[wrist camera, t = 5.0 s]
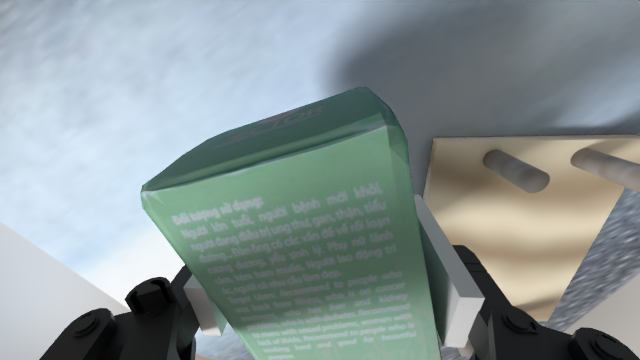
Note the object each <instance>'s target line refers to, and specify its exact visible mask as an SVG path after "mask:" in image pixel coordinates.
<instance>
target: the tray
mask: <svg viewBox="0 0 640 360" xmlns="http://www.w3.org/2000/svg"><path fill="white" fill-rule="evenodd" d="M639 163H640V136H639V135H634V134H621V135H565V136H509V137H452V138H433V144H432V150H431V155H430V161H429V167H428V172H427V178H426V184H425V190H424V195H423V200H424V202H425V203H426V205H427V207H428V208H429V210H430V211H431V213H432V215H433V216H434V218H435V219H436V221H437V223H438V224H439V226H440V227H441V229H442V231H443V232H444V234H445V235H446V237H447V238H448V240H449V242H450V243H451V245H464V246H466V247H467V248H468V249H470V250H471V251H472V252H473V253H475V255H476V256H477V257H478V259H479V260H480V262H481V264H482V265H483V266H484V267H485V269H486V270H487V273H489V274H490V276H491V277H492V278H493V280H494V281H495V282H496V284H497V285H498V287H499V288H500V289H501V291H502V292H503V294H504V295H505V296H506V298H507V299H508V300H509V302H510V303H511V304H512V306H515V307H517V308H519V309H521V310H523V311H525V312H526V313H527V314H529V315H530V316H531V317H533V318H534V320H535V321H548V319H549V317H550V316H551V314H552V312H553V310H554V309H555V307H556V305H557V304H558V302H559V300H560V298H561V297H562V295H563V293H564V292H565V290H566V288H567V286H568V285H569V283H570V281H571V280H572V278H573V276H574V274H575V273H576V271H577V269H578V267H579V266H580V264H581V262H582V261H583V259H584V257H585V255H586V254H587V252H588V250H589V249H590V247H591V245H592V243H593V242H594V240H595V238H596V237H597V235H598V233H599V231H600V230H601V228H602V226H603V224H604V223H605V221H606V219H607V218H608V216H609V214H610V212H611V211H612V209H613V207H614V206H615V204H616V202H617V200H618V199H619V197H620V195H621V194H622V192H623V190H624V188H625V187H627V188H629V189H632V190H634V191H637V192H640V164H639ZM458 350H459V352H460V354H461V355H462V356H464V357H471V356H472V353H473V351H474V349H473V347H472V345H471V343H470V340H469V338H468V340H467V343H466V345H465V347H464V348H461V347H458Z"/></svg>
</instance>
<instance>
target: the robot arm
mask: <svg viewBox="0 0 640 360" xmlns="http://www.w3.org/2000/svg"><path fill="white" fill-rule="evenodd" d="M414 199H415V205H416V211H417V218H418V224H419V230H420V235H421V241H422V247H423V253H424V259H425V265H426V270H427V276H428V283H429V289H430V295H431V301H432V307H433V312H434V318H435V324H436V329H437V331H438V334H439V337H440V340H441V342H442V345H443V347H461V348H464V347H465V345H466V343H467V340H468V338H469V340H470V343H471V345H472V347H473V349H474V351H473V353H472V356H471V358H470V360H640V359H639V358H638V357H637V356H636V355H635V354H634V353H633V352H632V351H631V350H630V349H629V348H628V347H627V346H625V345H624V344H623V343H621V342H620V341H618V340H617V339H616V338H614V337H612V336H610V335H608V334H606V333H604V332H602V331H599V330H596V329H593V328H580V329H578V330H576V331H575V333H574V334H573V335H570V334H566V333H563V332H560V331H557V330H553V329H550V328H547V327H544V326H541V325H539V324H538V323H537V322H536V321H535V320H534V318H533V317H531V316H530V315H529V314H527V313H526V312H525V311H523V310H521V309H519V308H517V307H515V306H512V304H511V303H510V302H509V300H508V299H507V298H506V296H505V295H504V294H503V292H502V291H501V289H500V288H499V287H498V285H497V284H496V282H495V281H494V280H493V278H492V277H491V276H490V274H489V273H487V270H486V269H485V267H484V266H483V265H482V264H481V262H480V260H479V259H478V257H477V256H476V255H475V253H473V252H472V251H471V250H470V249H468V248H467V247H466V246H464V245H451V243H450V242H449V240H448V238H447V237H446V235H445V234H444V232H443V231H442V229H441V227H440V226H439V224H438V223H437V221H436V219H435V218H434V216H433V215H432V213H431V211H430V210H429V208H428V207H427V205H426V203H425V202H424V200H423V199H422V197H421V196H420V195H414ZM125 301H126V302H127V304H128V306H129V307H130V309H131V312H128V313H123V314H119V315H116V316H113V314H112V313H111V311H109V310H108V309H107V308H99V309H96V310H91V311H89V312H87V313H85V314H83V315H81V316H80V317H78V318H77V319H76V320H74V321H73V322H72V323H71V324H70V325H69V326H68V327H67V328H65V330H64V331H63V332H62V333H61V334H60V336H59V337H58V338H57V339H56V340H55V342H54V343H53V344H52V345H51V346H50V347H49V349H48V350H47V351H46V352H45V354H44V355H43V356H42V357H41V358H40V359H39V360H195V352H196V339H195V337H194V336H195V334H196V332H197V330H198V328H199V326H200V328H201V331H202V333H203V335H218V336H221V335H222V333H223V331H224V328H225V326H226V324H227V320H226V318H225V317H224V315H223V314H222V313H221V311H220V310H219V308H218V307H217V306H216V304H215V303H214V302H213V300H212V299H211V298H210V296H209V295H208V294H207V292H206V291H205V290H204V288H203V287H202V286H201V284H200V283H199V282H198V280H197V279H196V278H195V276H194V275H193V274H192V272H191V271H190V270H189V268H188V267H187V266H186V264H185V266H183V267H182V269H181V270H180V271H179V273H178V274H177V275H176V277H175V278H174V279H173V281H172V282H171V283H170V282H169V281H168V280H167V279H166V278H163V277H156V278H151V279H149V280H146V281H144V282H142V283H140V284H139V285H137V286H136V287H135V288H133V289H132V290H131V291H130V292H129V293H128V295H127V297H126V298H125Z"/></svg>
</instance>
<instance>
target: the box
mask: <svg viewBox="0 0 640 360" xmlns="http://www.w3.org/2000/svg"><path fill="white" fill-rule="evenodd" d="M141 201H142V207H143V209H144V210H145V212H146V213H147V214H148V216H149V217H150V218H151V219H152V221H153V222H154V223H155V225H156V226H157V227H158V228H159V230H160V231H161V232H162V234H163V235H164V236H165V238H166V239H167V240H168V242H169V243H170V244H171V246H172V247H173V248H174V250H175V251H176V252H177V254H178V255H179V256H180V258H181V259H182V260H183V262H184V263H185V264H186V266H187V267H188V268H189V270H190V271H191V272H192V274H193V275H194V276H195V278H196V279H197V280H198V282H199V283H200V284H201V286H202V287H203V288H204V290H205V291H206V292H207V294H208V295H209V296H210V298H211V299H212V300H213V302H214V303H215V304H216V306H217V307H218V308H219V310H220V311H221V313H222V314H223V315H224V317H225V318H226V320H227V321H228V322H229V324H230V325H231V327H232V328H233V329H234V331H235V332H236V334H237V335H238V336H239V338H240V339H241V341H242V342H243V343H244V345H245V346H246V347H247V349H248V350H249V351H250V353H251V354H252V355H253V357H254V358H255V360H442V358H441V352H440V347H439V341H438V335H437V330H436V324H435V318H434V312H433V307H432V301H431V295H430V289H429V283H428V276H427V270H426V265H425V259H424V253H423V247H422V241H421V235H420V230H419V224H418V218H417V211H416V205H415V199H414V193H413V187H412V180H411V174H410V168H409V157H408V144H407V139H406V137H405V134H404V132H403V130H402V128H401V126H400V124H399V122H398V120H397V118H396V116H395V115H394V113H393V112H392V110H391V109H390V107H389V106H388V105H387V104H385V103H384V102H383V101H382V100H381V99H380V98H379V97H377V96H376V95H375V94H374V93H373V92H372V91H370V90H369V89H368V88H367V87H358V88H355V89H352V90H349V91H346V92H344V93H341V94H338V95H335V96H332V97H329V98H326V99H323V100H320V101H317V102H314V103H311V104H308V105H305V106H302V107H299V108H296V109H293V110H290V111H287V112H284V113H281V114H278V115H275V116H272V117H269V118H266V119H263V120H260V121H257V122H254V123H251V124H248V125H245V126H242V127H238V128H235V129H232V130H229V131H226V132H224V133H221V134H219V135H217V136H215V137H212V138H210V139H208V140H206V141H204V142H203V143H201V144H200V145H198V146H197V147H195V148H193V149H192V150H190V151H189V152H187V153H186V154H184V155H182V156H181V157H180V158H178V159H177V160H176V161H175V162H173V163H172V164H171V165H170V166H168V167H167V168H166V169H165V170H163V171H162V172H161V173H159V174H158V175H157V176H155V177H154V178H152V179H151V180H150V181H148V182H147V183H146V184H144V185H143V186H142V190H141Z"/></svg>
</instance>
